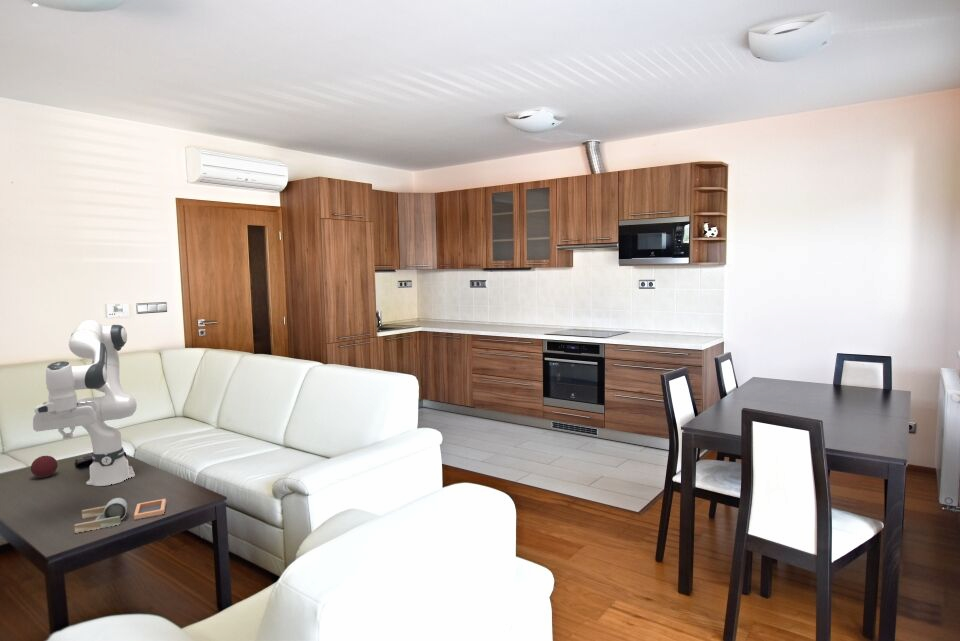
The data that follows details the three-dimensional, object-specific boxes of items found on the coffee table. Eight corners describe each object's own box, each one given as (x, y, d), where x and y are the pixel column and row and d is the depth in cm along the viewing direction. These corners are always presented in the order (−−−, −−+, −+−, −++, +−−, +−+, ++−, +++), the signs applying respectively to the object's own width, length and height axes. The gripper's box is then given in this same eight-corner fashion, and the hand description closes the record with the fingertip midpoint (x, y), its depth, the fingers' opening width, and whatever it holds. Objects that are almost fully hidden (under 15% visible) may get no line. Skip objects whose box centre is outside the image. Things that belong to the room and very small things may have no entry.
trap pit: (137, 508, 228) (137, 503, 228) (166, 503, 232) (165, 498, 232) (134, 520, 217) (133, 515, 217) (164, 514, 221) (163, 509, 221)
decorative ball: (29, 482, 260) (26, 461, 259) (35, 475, 269) (33, 454, 268) (55, 478, 264) (53, 457, 263) (61, 471, 273) (58, 451, 272)
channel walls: (83, 517, 221) (82, 510, 221) (125, 509, 227) (124, 502, 227) (75, 533, 208) (74, 525, 208) (120, 524, 214) (119, 517, 214)
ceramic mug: (128, 512, 225) (126, 493, 224) (127, 520, 218) (125, 500, 217) (96, 519, 220) (94, 500, 219) (94, 527, 213) (92, 508, 212)
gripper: (96, 398, 227) (100, 431, 230) (33, 405, 219) (38, 439, 221) (94, 402, 222) (98, 436, 224) (29, 409, 213) (34, 445, 215)
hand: (68, 438), depth 222 cm, fingers closed
